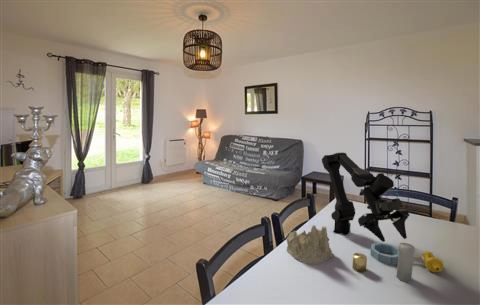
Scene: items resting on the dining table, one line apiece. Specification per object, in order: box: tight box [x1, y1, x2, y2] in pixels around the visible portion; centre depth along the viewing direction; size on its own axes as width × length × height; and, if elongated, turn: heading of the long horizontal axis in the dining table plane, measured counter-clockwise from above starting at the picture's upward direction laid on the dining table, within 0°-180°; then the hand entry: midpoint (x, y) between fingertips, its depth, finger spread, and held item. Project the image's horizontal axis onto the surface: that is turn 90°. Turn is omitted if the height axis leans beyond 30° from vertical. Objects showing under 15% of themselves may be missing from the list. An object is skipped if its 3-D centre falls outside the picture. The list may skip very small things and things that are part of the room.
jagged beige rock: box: [286, 225, 333, 265], centre depth 104 cm, size 16×16×15 cm
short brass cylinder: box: [352, 252, 368, 274], centre depth 94 cm, size 5×5×5 cm
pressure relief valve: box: [413, 250, 444, 273], centre depth 95 cm, size 6×12×10 cm
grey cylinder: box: [396, 242, 416, 283], centre depth 88 cm, size 4×4×12 cm
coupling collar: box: [369, 242, 399, 265], centre depth 102 cm, size 10×10×3 cm
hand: (394, 240), depth 92 cm, fingers open, 9 cm apart
